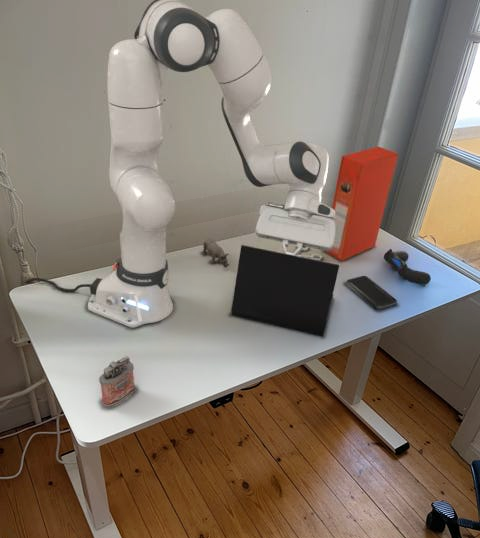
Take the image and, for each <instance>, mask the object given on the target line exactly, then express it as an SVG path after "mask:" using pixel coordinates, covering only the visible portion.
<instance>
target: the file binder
mask: <svg viewBox="0 0 480 538" xmlns="http://www.w3.org/2000/svg"><path fill="white" fill-rule="evenodd" d="M398 157H399V153H398V152H395V151H392V150H389V149H386V148H384V147H381V146H375V147H371V148H368V149H364V150H360V151H356V152H352V153H348V154H346V155H342V156H341V159H340V160H341V161H340V165H339V169H338V175H337V181H336V185H335V190H334V191H335V192H334V195H333V196H334V197H333V202H332V207H331V208H332V209H334V210H335V220H334V222H335V239H334V245H333V249H332V250H330V251H324V250H323V252H325V253H326V254H328V255H330V256H332V257H333V258H335V259H336V260H339V261H340V262H341V261H342V262H343V261H346V260H348V259H350V258H351V257H354V256H356V255H358V254H361V253H363V252H365V251H367V250H369V249H372V248H375V246H376V243H377V239H378V235H379V231H380V228H381V224H382V220H383V216H384V212H385V208H386V204H387V202H388V201H387V200H388V196H389V192H390V189H391V185H392V181H393V178H394V174H395V171H396V170H395V169H396V166H397V161H398Z"/></svg>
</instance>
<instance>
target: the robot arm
mask: <svg viewBox="0 0 480 538" xmlns="http://www.w3.org/2000/svg"><path fill="white" fill-rule="evenodd" d="M133 35H134V38H131V39H129V38H128V39H124V40H121V41H118V42H117V43H115V44H114V45H113V46H112V47H111V48H110V50H109V55H108V63H107V78H106V79H107V81H106V82H107V83H106V86H107V102H108V103H107V104H108V115H109V127H110V128H109V129H110V155H109V168H108V179H109V184H110V188H111V191H112V192H113V194H114V195H115V196H116V199H117V200H118V202H119V204H120V205H119V206H120V208H121V212H122V227H121V231H120V233H119V245H120V257H119V258H117V259H116V261H115V263H114V264H113V266H112V271H110V272H108V273H107V274H106V275H104V277H103V278H101V277H96V278H95V279H94V281H93V282H92V283H84V284H79V285H77V286H75V288H63V287H60V286H58V285H57V284H56V283H55V282H54V281H52V280H49V279H45V278H40V277H32V278H29V279H27V280H26V281H24V283H25V284H29V283H31V282H34V281H37V282H43V283H47V284H51V285H52V286H53V287H54V288H55V289H57V290H59V291H62V292H67V293H74V292H76V291H78V290H79V289H80V288H89V290H90V295H91V296H90V297H89V298H88V302H87V310H88V311H89V312H92V313H94V314H96V315H99V316H102V317H104V318H107V319H109V320H112V321H114V322H116V323H119V324H121V325H124V326H127V327H128V328H131V329H132V328H133V329H135V328H138V327H140V326H143V325H145V324H152V323H153V324H154V323H157V322H160V321H162V320H164V319H166V318H168V317H169V316H170V315H171V314H172V312H173V310H174V302H173V301H172V298H171V294H170V290H169V283H168V282H169V275H170V274H169V272H170V271H169V262H168V259H167V239H166V238H167V232H168V227H169V223H170V222H171V221H172V219H173V217H174V215H175V212H176V203H175V199H174V197H173V193H172V191H171V189H170V187H169V185H168V184H167V183H166V181H165V180H164V179H163V178H162V177H161V175H160V172H159V168H158V167H159V166H158V159H159V152H160V147H161V145H162V144H163V142H164V102H163V82H164V77H165V75H166V72H167V71H168V69H169V70H171V71H174V72H178V73H188V72H193V71H196V70H198V69H200V68H202V67H205V66H208V68H209V69H210V70H211V72H212V74H213V76H214V77H215V80H216V82H217V83H218V84H219V87H220V90H221V93H222V97H221V102H220V103H221V111H222V115H223V118H224V120H225V123H226V125H227V128H228V131H229V133H230V135H231V137H232V140H233V142H234V145H235V147H236V149H237V151H238V154H239V156H240V160H241V162H242V167H243V171H244V174H245V177H246V178H247V180H248V181H249V182H250V183H251V184H252V185H253V186H255V187H257V188H263V187H269V186H273V185H286V184H287V185H288V186H290V187H289V189H288V191H287V195H286V198H285V202H284V204H279V203H273V202H271V201H270V202H266V203H263V204H262V205H261V206H260V208H259V211H258V216H259V217H258V220H257V222H256V225H255V229H254V231H255V234H256V236H257V237H258V238H260V239H265V240H271V241H274V242H275V241H276V242H280V243H281V245H282V248H283V249H282V250H283V253H284V254H289V255H294V256H296V255H297V254H298V255H299V254H300V253H301V252H302V251H303V250H302V248H306V247H308V249H309V248H310V249H315V250H320V251H323V252H324V251H330V250H332V249H333V245H334V239H335V222H334V220H335V210H334V209H332V207H331V206H329V205H328V204H327V205H326V204H325V203H323V202H322V192H323V190H324V188H325V187H326V184H327V183H326V182H327V177H328V172H329V164H330V155H329V152H328V150H326V148H324V147H323V146H321V145H320V144H317V143H306V142H304V141H299V140H298V141H287V142H282V143H275V144H274V143H273V144H266V143H263V142H261V141H260V140H259V137H258V135H257V131H256V129H255V127H254V124H253V121H252V118H251V113H252V112H253V111H254V110H256V109H257V108H258V107H259V106H260V105H261V104H262V103H263V102H264V101H265V99H266V98H267V96H268V94H269V93H270V90H271V89H272V83H273V74H272V70H271V67H270V64H269V61H268V59H267V57H266V55H265V53H264V51H263V49H262V48H261V45H260V44H259V42H258V40H257V38H256V37H255V35H254V33H253V32H252V30H251V28H250V27H249V25H248V24H247V23H246V21H245V20H244V19H243V17H242V16H241V14H239V12H237V11H236V10H234V9H232V8H220V9H217V10H215V11H213V12H212V13H210V14H209V15H208V16H205V17H204V16H203V15H201V14H200V13H198V12H197V11H195V10H194V9H193V8H192V7H191V6H190V5H189V4H187V3H186V2H184V1H181V0H152V1H151V2H150V3H149V4H148V5H147V7H146V8H145V9H144V12H143V13H142V16H141V19H140V21H139V23H138V25H137V26H136V29H135V31H134V34H133ZM289 244H291V245H294V246H295V245H296V249H295V251H293V252H291V251H288V250H287V248H288V247H289ZM301 250H302V251H301Z"/></svg>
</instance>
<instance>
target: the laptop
mask: <svg viewBox="0 0 480 538" xmlns="http://www.w3.org/2000/svg"><path fill="white" fill-rule="evenodd" d="M333 299H334V295H333V296H332V300H331V305H330V309H329V313H328V316H329V315H330V310H331V306H332V302H333ZM231 316H232V317H237V318H241V319H246V320H249V321H254V322H258V323H263V324H267V325H272V326H276V327H281V328H285V329H289V330H293V331H296V332H297V331H298V332H301V333H306V334H311V335H315V336H318V337H324V334H325V331H324V332H320V331H315V330H311V329H307V328H302V327H298V326H294V325H289V324H285V323H281V322H276V321H272V320H268V319H263V318H259V317H255V316H250V315H246V314H242V313H237V312H233V311H231ZM328 319H329V317H328V318H327V320H328ZM327 322H328V321H327ZM327 322H326V324H327ZM326 327H327V325H326V326H325V328H326Z"/></svg>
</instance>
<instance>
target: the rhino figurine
mask: <svg viewBox="0 0 480 538" xmlns="http://www.w3.org/2000/svg"><path fill="white" fill-rule="evenodd" d="M202 245H203V249H202V255H205V256H206V255H207V254H208V255H210V256H211V260H210V264H215V263H216V259H217V262H218V263H219V264H221V265H222V266H223V268H227V267H228V266H230V263H228V259H227V256H229V253H225V252H224V249H223V247H221V246H220V244H218V243H217V242H216V240H215V239H214V238H210V237H209V238H207V239H205V240H204V242H203V244H202Z"/></svg>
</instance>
